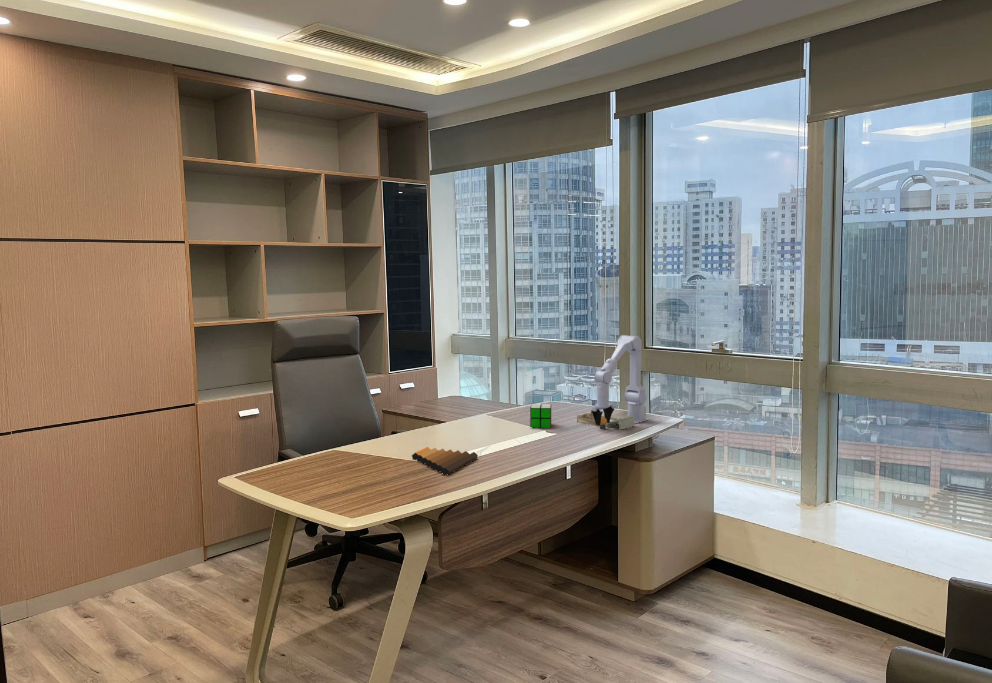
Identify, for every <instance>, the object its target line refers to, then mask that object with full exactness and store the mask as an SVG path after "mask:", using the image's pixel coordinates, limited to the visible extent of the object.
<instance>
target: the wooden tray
mask: <svg viewBox="0 0 992 683" xmlns="http://www.w3.org/2000/svg"><path fill="white" fill-rule="evenodd" d="M601 417H604V415H602V416H601ZM617 419H618V418H617V417H612V416H611V418H610V420H617ZM576 422H577V423H578V422H580V423H579V424H584V423H585V424H584V425H590V424H591V426H595V425H596V424H595V420H594V417H593V414H592V413H591V411H590V412H585V413H581V414H577V415H576ZM596 427H600V425H597V426H596Z"/></svg>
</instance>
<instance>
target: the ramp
mask: <svg viewBox="0 0 992 683" xmlns="http://www.w3.org/2000/svg"><path fill="white" fill-rule="evenodd" d="M633 417H634V416H633V415H631V416H628V415H627V416H624V417H621V418H620V417H619V418H617V420H610V422H609V423H606V424H605V425H606V428H609V426H610V427H614V426H616V424H617V425H618V427H619V428H618V429H619V430H620V429H624V430H626V429H625V428H627V429H630V428H629V427H631V428H633V427H632V426H634V427H635V423H634V418H633Z"/></svg>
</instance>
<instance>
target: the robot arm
mask: <svg viewBox="0 0 992 683" xmlns="http://www.w3.org/2000/svg"><path fill="white" fill-rule="evenodd" d="M625 352H627V353H629V385H627V386H626V387H625V392H624V400H625V402H626V404H627V417H628V416H631V415H633V416H634V417H633V418H634V424H640V423H643V421H644V422H647V421H648V419H647V407H646V405H645V402H646V400H647V393H646V388H645V387H643V385H641V382H642V381H641V378H642V377H641V375H642V373H641V372H642V371H641V370H642V369H641V368H642V367H641V366H642V339H641V338H640V337H639V336H638V335H625V334H621V335H620V336H619V337H618V339H617V346H616V348H615V350H614V352H613V353H612V355H611V358H607V359H606V361H605V362H604V364H603V365H602V366H601V369H600V370H598V371H596V372H595V374H594V376H593V378H594V381H595V385H596V403H594V406H592V407H591V410H590V412H591V413H592V414H593V417H594V420H595V424H596V425H600V423H601V416H604V417H605V418H606V419H607V423H609V422H610V418H611V417H612V415H613V413H614V411H615V408H614V402H610V383H611V382H612V379H613V373H614V372H615V370H616V369H617V367H618V364H619V363H618V361H619V360H620V359H621V358H622V356H623V355H624V354H625ZM601 410H602V411H601ZM646 420H647V421H646ZM639 422H640V423H639Z"/></svg>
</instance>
